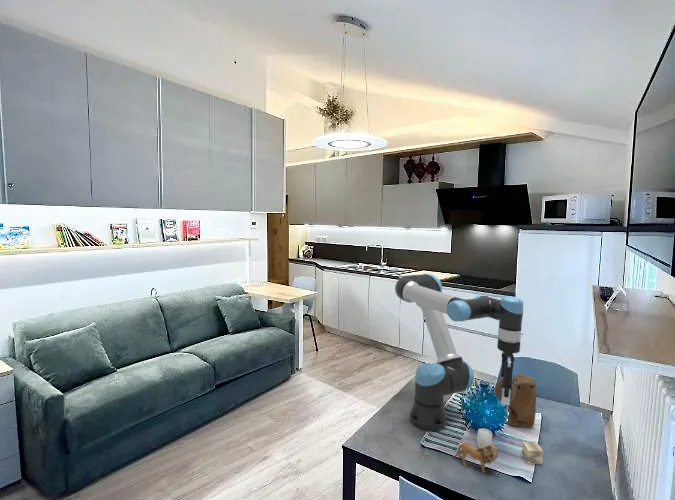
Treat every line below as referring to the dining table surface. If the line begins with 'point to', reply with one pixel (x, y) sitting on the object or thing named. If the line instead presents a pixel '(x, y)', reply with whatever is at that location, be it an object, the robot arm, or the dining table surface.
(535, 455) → the birch block
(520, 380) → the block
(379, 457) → the dining table surface
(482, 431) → the white cylinder
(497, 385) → the vase
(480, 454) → the lion figurine
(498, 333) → the robot arm
